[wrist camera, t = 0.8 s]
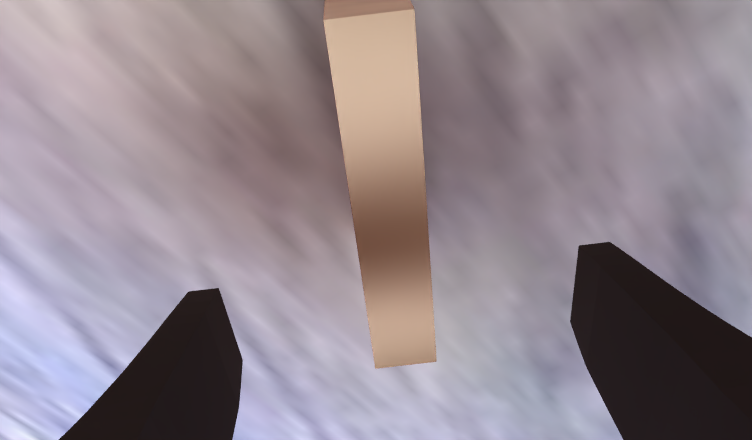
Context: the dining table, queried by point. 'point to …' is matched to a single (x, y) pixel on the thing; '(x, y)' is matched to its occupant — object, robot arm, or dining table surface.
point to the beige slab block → (385, 170)
